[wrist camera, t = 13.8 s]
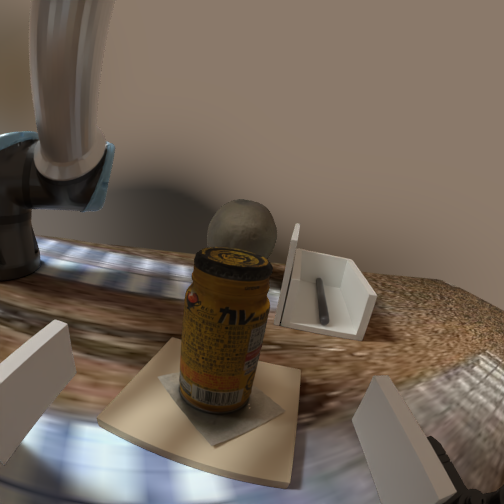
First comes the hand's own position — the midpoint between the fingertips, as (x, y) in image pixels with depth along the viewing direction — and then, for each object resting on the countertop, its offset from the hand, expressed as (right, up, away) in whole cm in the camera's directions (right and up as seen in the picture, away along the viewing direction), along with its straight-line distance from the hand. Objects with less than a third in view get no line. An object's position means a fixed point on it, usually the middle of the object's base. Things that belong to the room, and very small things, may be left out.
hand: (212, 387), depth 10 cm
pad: (-2, -8, +11) cm, 13 cm away
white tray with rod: (+13, -4, +37) cm, 40 cm away
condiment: (-1, -7, +11) cm, 13 cm away
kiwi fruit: (-2, +1, +48) cm, 48 cm away
